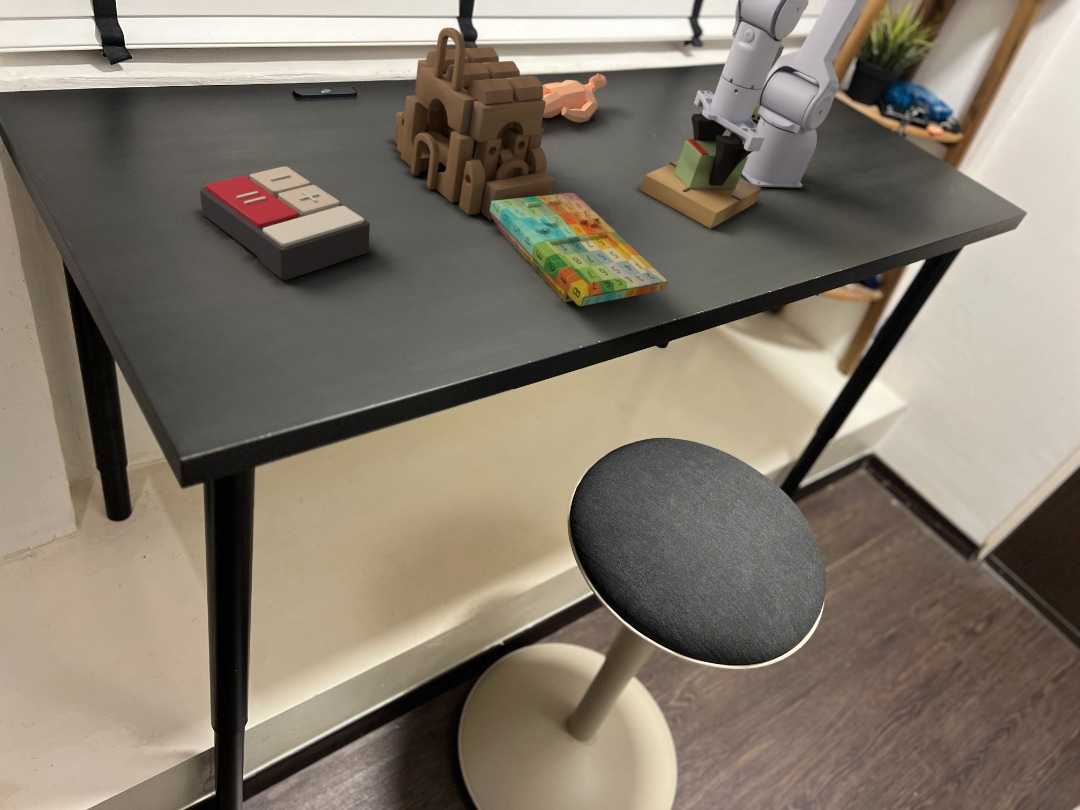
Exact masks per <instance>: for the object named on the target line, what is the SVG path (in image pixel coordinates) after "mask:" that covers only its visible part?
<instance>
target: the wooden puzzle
mask: <svg viewBox="0 0 1080 810" xmlns="http://www.w3.org/2000/svg"><path fill="white" fill-rule="evenodd" d="M449 39H451V40H452V41H453V43H454V47H455V48H451V49H450V48H449V49H447V47H448V41H449ZM542 85H543V84H542V83H541V81H540V79H539V78H538V76H536V75H527V76H526V75H525V76H521V70H520V68H519V67H518V66H517V64H516V62H515V61H513V60H502V61H501V60H500V57H499V55H498V54H497V52H496V50H495V49H494V48H493V47H492V46H488V47H487V46H485V47H466V43H465V39H464V36H463V35H462V34H461V32H460V31H459V30H458V29H456V28H454V27H443V28H442V29H441V30H440V31H439V33H438V37H437V42H436V49H430V50H428V53H427V55H426V57H425V59H418V60H417V67H416V77H415V86H414V87H415V88H414V93H415V95H406V97H405V107H404V110H403V111H398V112H396V116H395V126H394V137H393V142H394V143H395V144H396V146H397V147H396V151H398V152H399V154H400V159H401V160H402V161H403V162H405V163H406V164H407V165H408V166H409V167H410V174H411V175H413V176H414V177H416V176H420V173H425V172H427V180H426V188H427V189H428V190H430V191H433V190H436V191H437V192H439V193H440V194H441V195H442V196H443V197H444V198H445V199H447V200H448V201H449V202H450V203H452V204H453V203H458V208H459V209H460V210H461V211H463V212H464V213H465V214H466V215H467V216H472V215H477V214H480V213H481V214H482V215H483V216H485V218H487V219H488V221H494V220H493V218H492V215H491V213H490V211H489V209H490V203H491V201H496V200H505V199H515V198H525V197H534V196H544V195H553V190H554V186H555V182H556V178H554V177H553V176H551V175H550V174H549V173H548V172H546V171H547V156H546V154H545V151H544V150H543V148H542V147H541V146H542V140H543V137H544V136H543V135H544V131H545V129H544V128H543V127H542V122H543V118H544V117H543V114H544V109H545V104H546V101H544V100H543V86H542ZM443 169H445V170H444V171H442V172H439V170H443Z"/></svg>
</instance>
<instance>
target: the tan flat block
mask: <svg viewBox="0 0 1080 810" xmlns="http://www.w3.org/2000/svg"><path fill="white" fill-rule="evenodd" d="M678 161H679V159H678V160H675V161H674V162H672V161H670V162H669V164H667V165H664V166H662V167H660V168H657V169H655V170H653V171H650V172H648V173H646V174H644V178H643V181H642V184H641V187H640V191H641V193H645V194H646V195H648V196H650V197H652V198H653V199H655V200H657V201H659V202H661V203H662V204H665V205H666V206H668V207H670V208H672V209H674V210H675V211H677V212H679V213H681V214H682V215H685V216H686V217H688V218H690V219H692V220H693V221H695V222H696V223H699V224H701V225H702V226H704V227H706V228H709V229H710V230H711V229H713V228H714V227H716V226H718V225H720V224H721V223H723V222H725V221H727V220H729V219H731V218H732V217H734V216H735V215H737V214H739V213H741V212H742V211H744V210H745V209H748V208H749V207H751V206H753V205H755V204H756V201H757V199H758V197H759V194H760V192H761V190H762V187H757V186H756V185H754V184H752V183H750V182H749V181H748V180H747V179H745V178H742V177H740V178H739V181H738V183H737V186H736V188H735V189H693V188H688V187H687V186H686V185H685V184H684V183H683V182H682V180H681V179H680V178H679V177H678V176H677V175H676V174H675V173H674V172H675V169H676V167H677V164H678Z"/></svg>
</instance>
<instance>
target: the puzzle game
mask: <svg viewBox="0 0 1080 810" xmlns="http://www.w3.org/2000/svg"><path fill="white" fill-rule="evenodd" d="M489 211H490V213H491V215H492V218H493V220H492V221H493V222H494V223H495V225H496V227H497V229H498V230H499V231H500V233H501V235H503V237H504V238H505V239H506V240H507V241H508V242H509V243H510V244H511V245H512V246H513V247H514V248H515V250H516V251H517V252H518V253H519V254H520V255H521V256H522V257H523V259H525V261H527V263H528V264H529V265H530V266H531V267H532V268H533V269H534V270H535V271H536V272H537V274H539V275H540V277H541V278H542V279H543V280H544V281H545V283H547V284H548V285H549V286H550V288H552V290H554V292H555V293H556V294H557V295H558V296H559V297H560V298H561V299H562V301H564V302H565V303H569V302H574V304H575V305H576V306H578V307H583V306H589V305H595V304H600V303H605V302H610V301H614V300H620V299H625V298H629V297H635V296H640V295H645V294H651V293H656V292H660V291H666V290H667V286H668V285H669V284H668V283H669V281H668V280H667V279H666V278H665V277H664V276H663V275H662V274H660V272H658V270H656V269H655V268H654V267H653V266H652V265H651V264H650V263H649V262H648V261H647V260H646V259H645V258H644V257H643V256H642V255H641V254H640V253H639V252H637V251H636V250H635V249H634V248H633V247H632V246H631V245H630V244H629V243H628V242H627V241H626V240H625V239H624V238H623V237H622V236H621V235H620V234H618V233H617V232H616V231H615V229H613V227H611V226H610V225H609V224H608V223H607V222H606V221H605V220H604V219H603V218H602V217H601V216H600V215H598V214H597V213H596V211H594V210H593V209H592V208H591V207H590V206H589V205H588V204H587V203H586V202H585V201H584V200H583V199H582V198H581V197H579V195H577V193H574V192H566V193H565V192H564V193H557V194H556V193H555V194H552V195H544V196H534V197H525V198H515V199H505V200H496V201H491V203H490V209H489Z"/></svg>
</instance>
